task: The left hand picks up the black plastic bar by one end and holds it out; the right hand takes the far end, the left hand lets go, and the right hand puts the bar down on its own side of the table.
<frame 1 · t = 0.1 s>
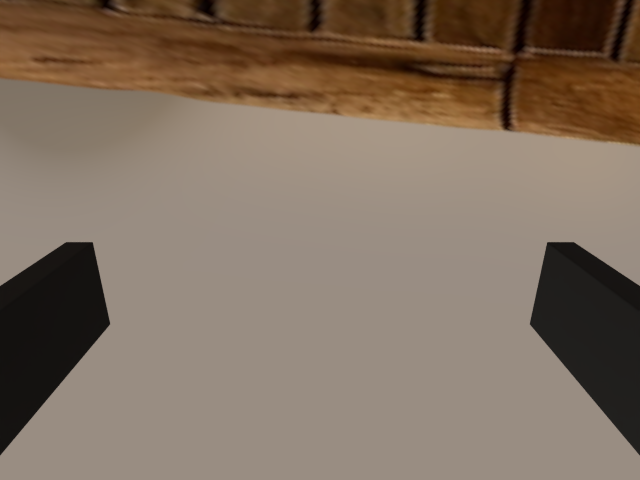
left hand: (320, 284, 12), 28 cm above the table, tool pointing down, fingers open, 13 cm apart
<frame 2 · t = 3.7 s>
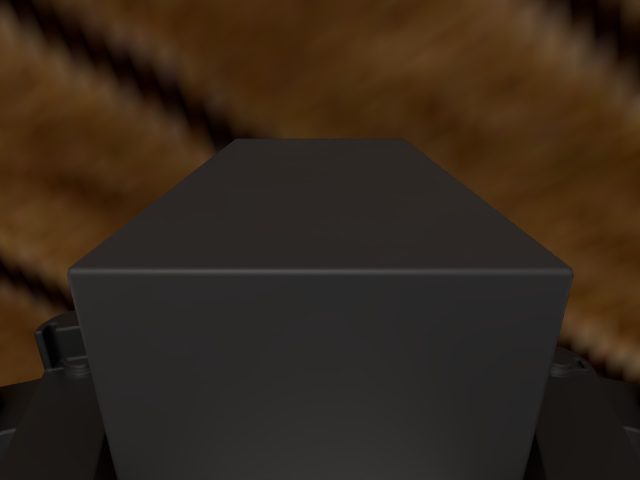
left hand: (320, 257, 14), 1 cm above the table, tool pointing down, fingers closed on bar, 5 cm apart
bar: (320, 421, 18), on the table, touching left hand
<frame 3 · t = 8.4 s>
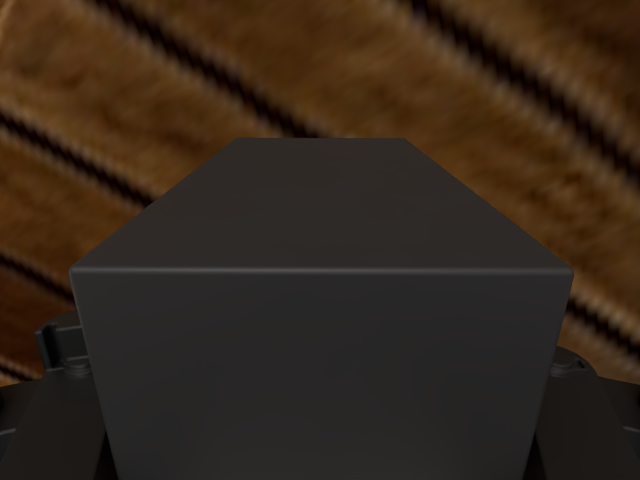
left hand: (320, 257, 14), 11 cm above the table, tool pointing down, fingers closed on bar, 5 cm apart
bar: (319, 421, 18), point 11 cm above the table, touching left hand, right hand
when the left hand's fingers open (11 cm above the table, at t = 9.1 s): bar stays where it is, held by the right hand.
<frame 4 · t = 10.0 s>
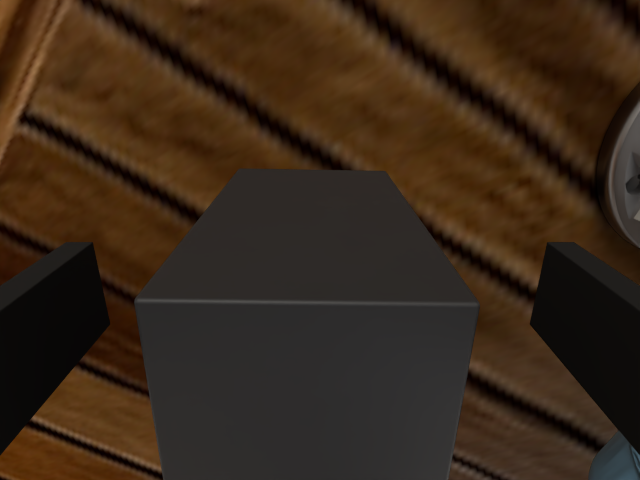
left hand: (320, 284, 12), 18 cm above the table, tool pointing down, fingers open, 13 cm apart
bar: (309, 416, 20), point 13 cm above the table, touching right hand
when the right hand's fingers open (2 cm above the table, at t = 15.5 s): bar drops 2 cm, on the table.
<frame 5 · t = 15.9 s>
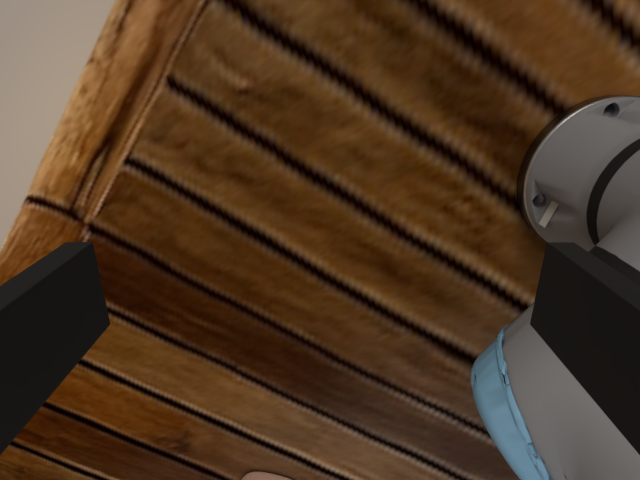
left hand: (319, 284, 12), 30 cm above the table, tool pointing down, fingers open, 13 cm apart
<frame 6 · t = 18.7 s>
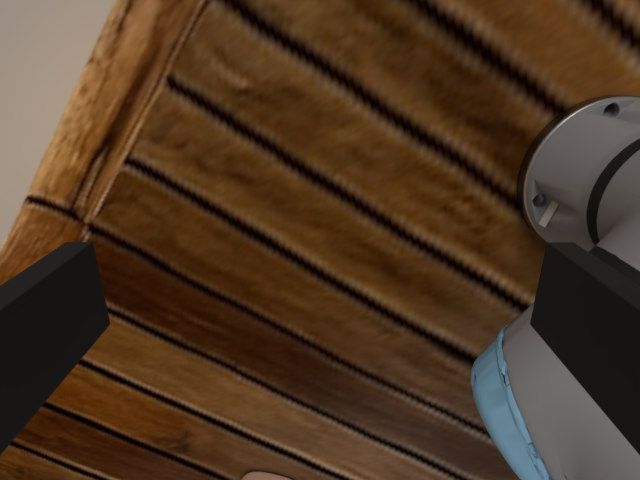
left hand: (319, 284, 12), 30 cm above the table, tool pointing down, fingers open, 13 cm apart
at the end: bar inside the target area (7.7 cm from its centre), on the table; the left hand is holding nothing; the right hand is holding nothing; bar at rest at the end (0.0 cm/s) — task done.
